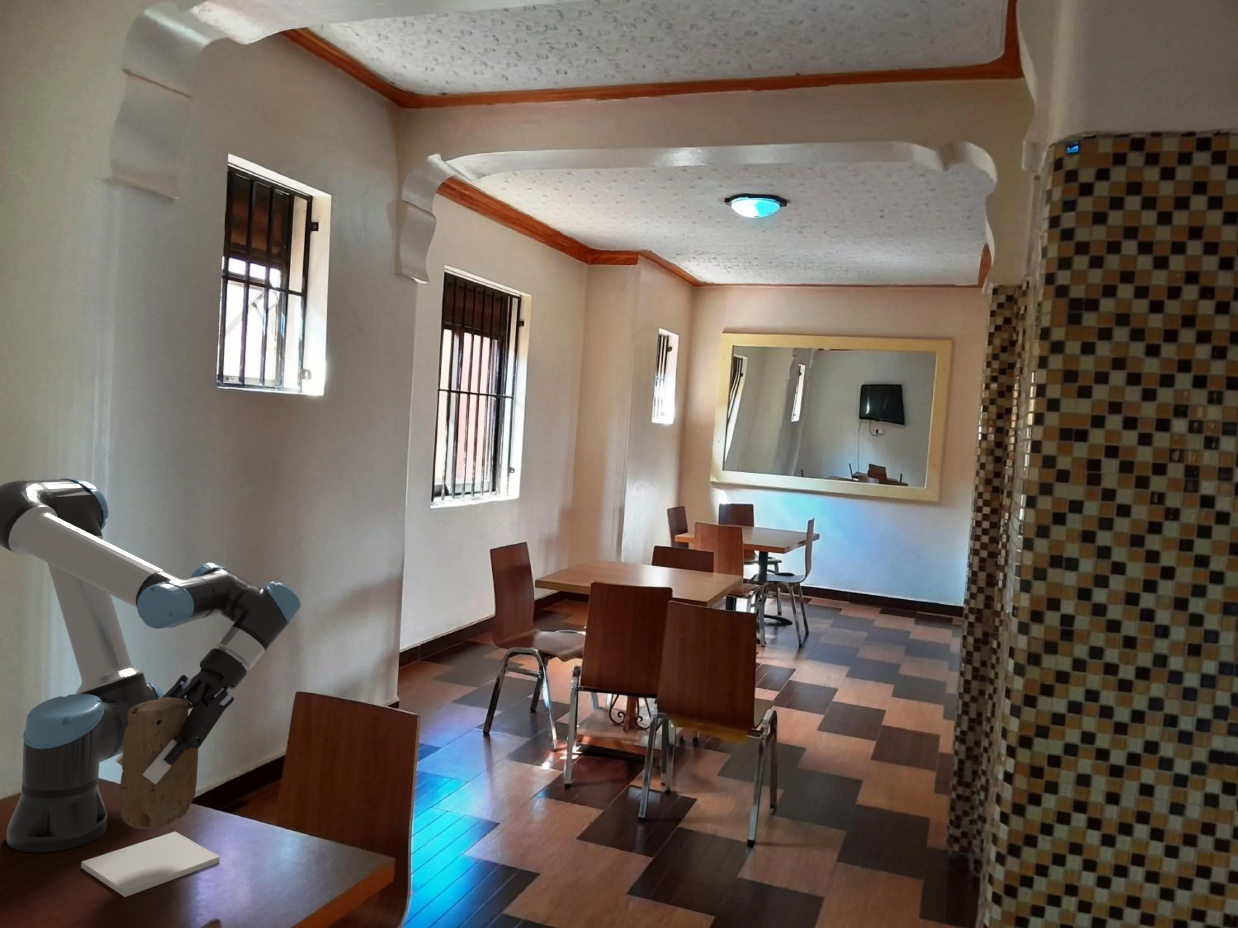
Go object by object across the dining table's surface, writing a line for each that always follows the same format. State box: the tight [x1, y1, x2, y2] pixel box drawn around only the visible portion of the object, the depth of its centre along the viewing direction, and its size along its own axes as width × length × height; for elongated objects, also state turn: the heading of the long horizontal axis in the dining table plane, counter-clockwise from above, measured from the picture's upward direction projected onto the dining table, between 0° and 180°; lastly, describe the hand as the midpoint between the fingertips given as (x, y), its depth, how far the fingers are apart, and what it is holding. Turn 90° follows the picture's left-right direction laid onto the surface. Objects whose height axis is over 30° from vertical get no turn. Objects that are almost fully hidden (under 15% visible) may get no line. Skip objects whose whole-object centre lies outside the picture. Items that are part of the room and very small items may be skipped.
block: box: [119, 697, 199, 830], centre depth 153 cm, size 11×8×20 cm
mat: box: [80, 831, 221, 898], centre depth 153 cm, size 14×16×1 cm
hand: (135, 772), depth 149 cm, fingers closed on block, 8 cm apart
